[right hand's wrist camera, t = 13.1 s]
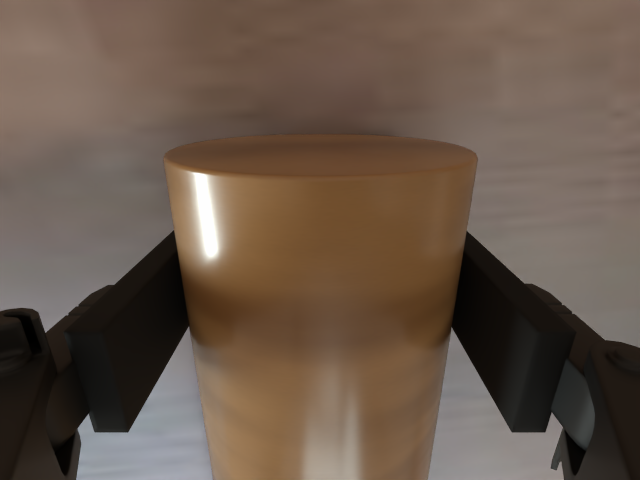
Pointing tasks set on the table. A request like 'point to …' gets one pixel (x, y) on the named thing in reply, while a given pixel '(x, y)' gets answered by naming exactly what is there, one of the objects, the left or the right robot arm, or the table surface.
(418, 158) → the rod
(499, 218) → the table surface
